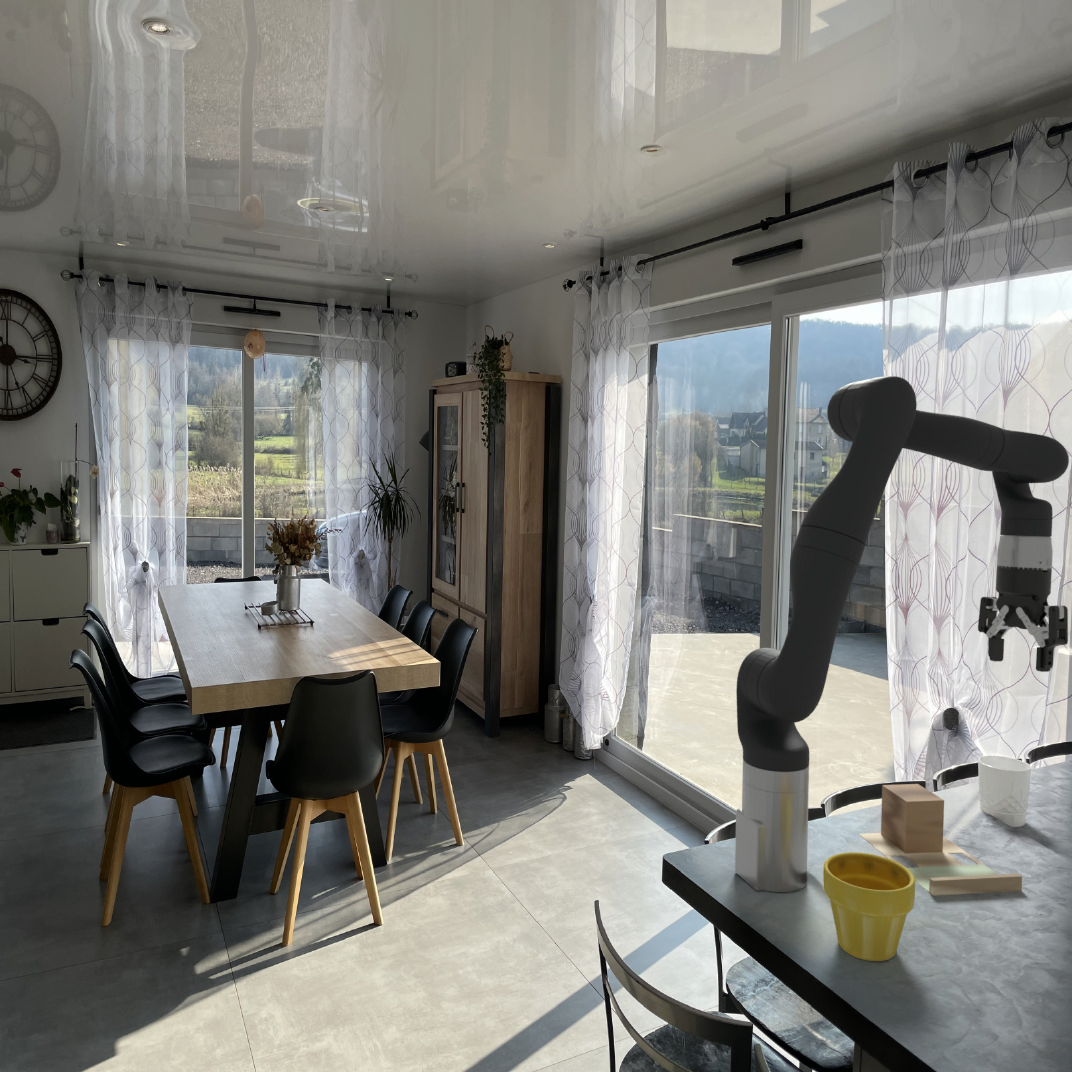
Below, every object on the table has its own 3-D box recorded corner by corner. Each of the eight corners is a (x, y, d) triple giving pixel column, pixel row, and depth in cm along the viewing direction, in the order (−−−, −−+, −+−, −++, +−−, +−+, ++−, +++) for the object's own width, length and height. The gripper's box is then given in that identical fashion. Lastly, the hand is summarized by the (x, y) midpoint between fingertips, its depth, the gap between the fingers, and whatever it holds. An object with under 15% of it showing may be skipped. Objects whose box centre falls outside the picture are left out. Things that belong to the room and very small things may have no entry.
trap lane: (858, 843, 130) (858, 821, 130) (934, 839, 131) (935, 818, 131) (932, 905, 110) (933, 880, 110) (1021, 901, 111) (1022, 876, 111)
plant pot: (872, 981, 93) (874, 898, 92) (804, 937, 102) (805, 861, 101) (931, 957, 98) (934, 878, 97) (861, 917, 107) (863, 845, 106)
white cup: (1039, 829, 135) (1041, 771, 135) (991, 829, 135) (993, 770, 135) (1012, 811, 143) (1014, 755, 143) (967, 810, 143) (969, 755, 143)
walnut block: (880, 834, 130) (882, 785, 129) (916, 832, 130) (917, 783, 130) (905, 853, 123) (906, 801, 122) (942, 851, 123) (944, 800, 123)
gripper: (968, 561, 134) (964, 658, 135) (1046, 567, 121) (1041, 675, 121) (1003, 562, 137) (999, 657, 137) (1084, 568, 123) (1078, 674, 123)
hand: (1019, 666), depth 129 cm, fingers open, 8 cm apart
